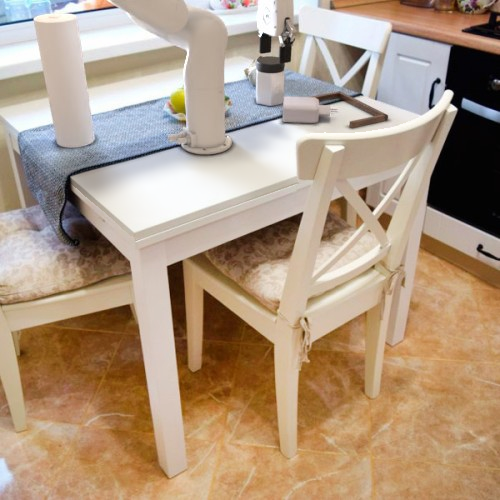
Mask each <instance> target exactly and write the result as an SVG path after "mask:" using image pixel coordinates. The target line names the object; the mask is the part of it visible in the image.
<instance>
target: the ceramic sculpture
mask: <svg viewBox="0 0 500 500" xmlns="http://www.w3.org/2000/svg"><path fill="white" fill-rule="evenodd" d="M260 57H263V56H261V55H260V56H258V57H257V58H255V59H254V60H253V61H252V62H251V64H250V66H249V68H245V69H244V70H243V72H244V75H245V76H246V77H248V81H249V83H250V84H251V86H252V87H255V88H256V60H257V59H258V58H260Z"/></svg>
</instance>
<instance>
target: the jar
mask: <svg viewBox="0 0 500 500" xmlns="http://www.w3.org/2000/svg"><path fill="white" fill-rule="evenodd" d="M259 57H260V56H259ZM256 59H257V60H256V87H255V101H256V105H261V106H262V105H263V106H268V107H274V106H277V105H283V102H284V95H285V75H286V73H285V67H286V63H279V56H274V55H273V56H270V55H269V56H267V55H266V56H262V57H260V58H258V57H257V58H256Z"/></svg>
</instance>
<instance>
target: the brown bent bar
mask: <svg viewBox="0 0 500 500" xmlns="http://www.w3.org/2000/svg"><path fill="white" fill-rule="evenodd" d="M311 97H315V98H317V99H318V100H319V102H324V101H328V100H329V101H330V100H334V99H340V100H342V101H344V102H345V103H347V104H350V105H352V106H354V107H355V108H357V109H360V110H362V111H364V112H365V113H368V114H369V115H372V116H368V117H364V118H359V119H354V120H349V128H351V129H354V128H358V127H363V126H367V125H372V124H378V123H381V122H382V123H383V122H386V121H388V120H389V119H388V118H389V114H387V113H385V112H383V111H381V110H379V109H377V108H375V107H373V106H371V105H368V104H367V103H366V102H365V103H364V102H362V101H361V100H359V99H357V98H355V97H353V96H351V95H348V94H346V93H345V92H343V91H340V90H339V91H334V92H328V93H323V94H317V95H311Z"/></svg>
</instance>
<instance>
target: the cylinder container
mask: <svg viewBox="0 0 500 500" xmlns="http://www.w3.org/2000/svg"><path fill="white" fill-rule="evenodd" d="M33 24H34V29H35V34H36V40H37V45H38V50H39V56H40V61H41V67H42V73H43V77H44V82H45V87H46V93H47V98H48V103H49V110H50V114H51V115H50V116H51V120H52V124H53V130H54V134H55V141H56V144H57V145H58V146H60V147H61V148H70V149H71V148H72V149H73V148H81V147H86V146H88V145H90V144H92V143H94V142H95V140H96V135H95V130H94V129H95V128H94V122H93V117H92V111H91V109H92V108H91V103H90V97H89V88H88V83H87V76H86V75H87V74H86V69H85V68H86V67H85V63H84V55H83V48H82V43H81V34H80V28H79V23H78V16H77V15H76V14H73V13H67V12H54V13H53V12H52V13H45V14H44V13H43V14H39V15H37V16H35V17H33Z"/></svg>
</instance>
